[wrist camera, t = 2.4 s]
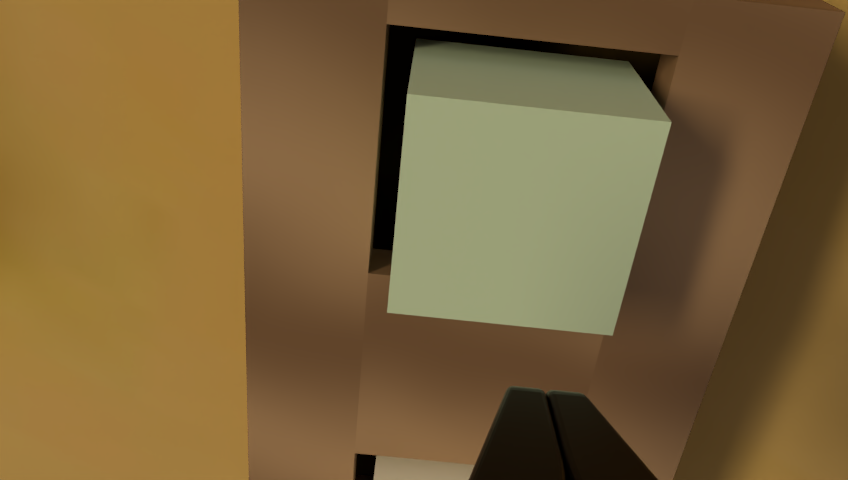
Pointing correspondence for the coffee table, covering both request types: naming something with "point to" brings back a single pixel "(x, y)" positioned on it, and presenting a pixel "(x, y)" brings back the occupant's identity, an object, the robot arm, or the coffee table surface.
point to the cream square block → (419, 469)
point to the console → (477, 341)
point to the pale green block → (522, 186)
